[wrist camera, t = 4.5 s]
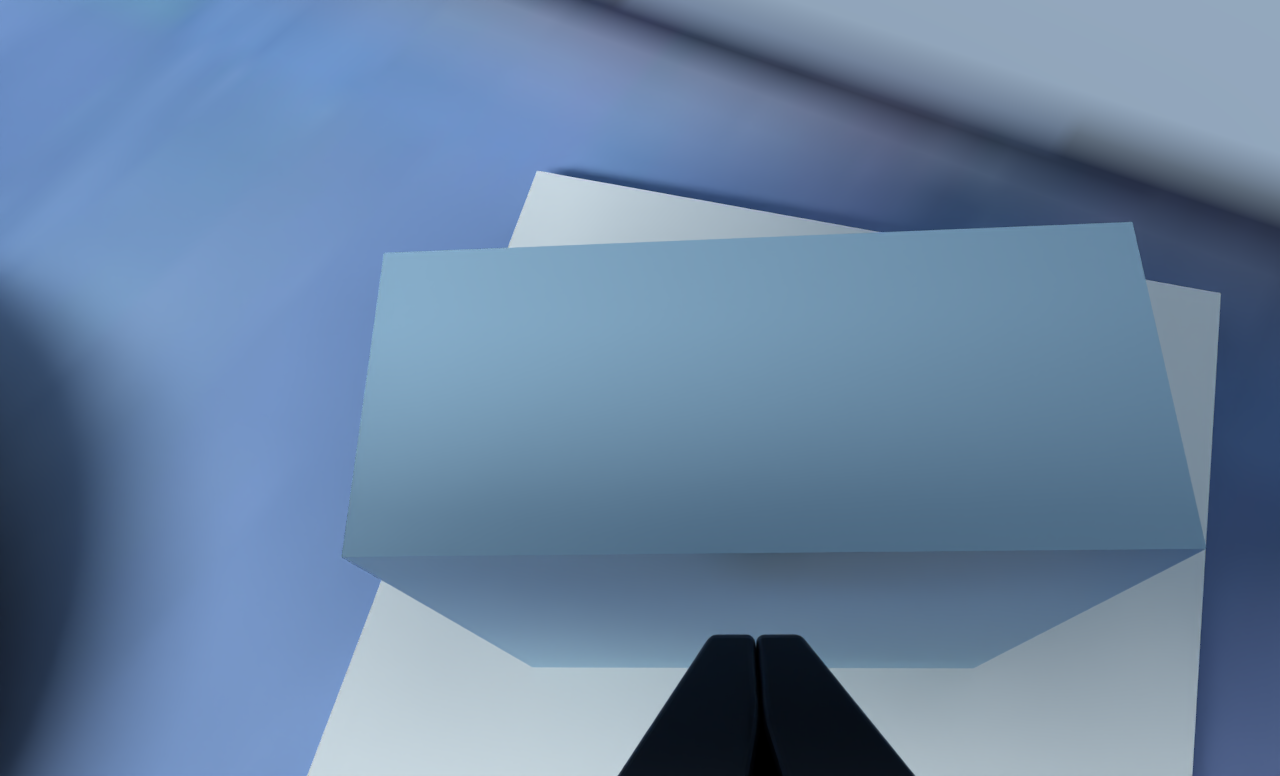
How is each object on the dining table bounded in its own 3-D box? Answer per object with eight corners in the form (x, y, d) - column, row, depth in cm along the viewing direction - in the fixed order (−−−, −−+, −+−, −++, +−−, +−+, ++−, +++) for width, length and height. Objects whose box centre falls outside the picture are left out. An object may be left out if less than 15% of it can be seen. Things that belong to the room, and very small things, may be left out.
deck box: (973, 668, 15) (1206, 548, 7) (532, 667, 15) (341, 556, 8) (951, 484, 16) (1132, 221, 8) (542, 490, 16) (384, 251, 9)
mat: (1148, 1188, 12) (1167, 1207, 12) (283, 880, 15) (265, 884, 14) (1205, 308, 17) (1220, 293, 17) (542, 187, 20) (537, 170, 19)
